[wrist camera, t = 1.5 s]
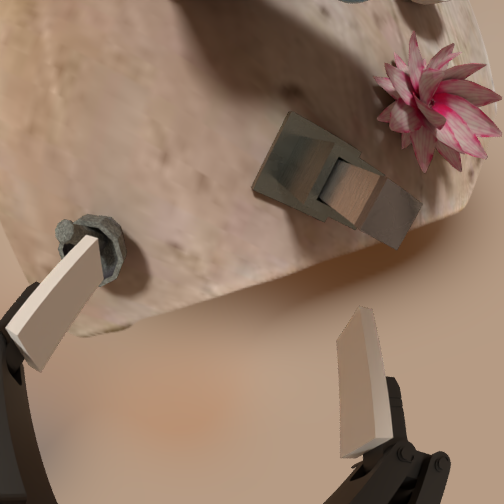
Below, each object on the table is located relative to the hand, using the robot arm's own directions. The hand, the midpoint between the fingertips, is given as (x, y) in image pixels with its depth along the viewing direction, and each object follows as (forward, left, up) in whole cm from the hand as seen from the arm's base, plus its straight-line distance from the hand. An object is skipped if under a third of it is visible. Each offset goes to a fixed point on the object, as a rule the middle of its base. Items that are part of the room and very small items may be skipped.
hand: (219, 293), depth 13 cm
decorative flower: (-26, +23, -28) cm, 45 cm away
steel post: (-7, +12, -26) cm, 30 cm away
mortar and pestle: (+13, -12, -28) cm, 33 cm away
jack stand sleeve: (-7, +12, -28) cm, 31 cm away
